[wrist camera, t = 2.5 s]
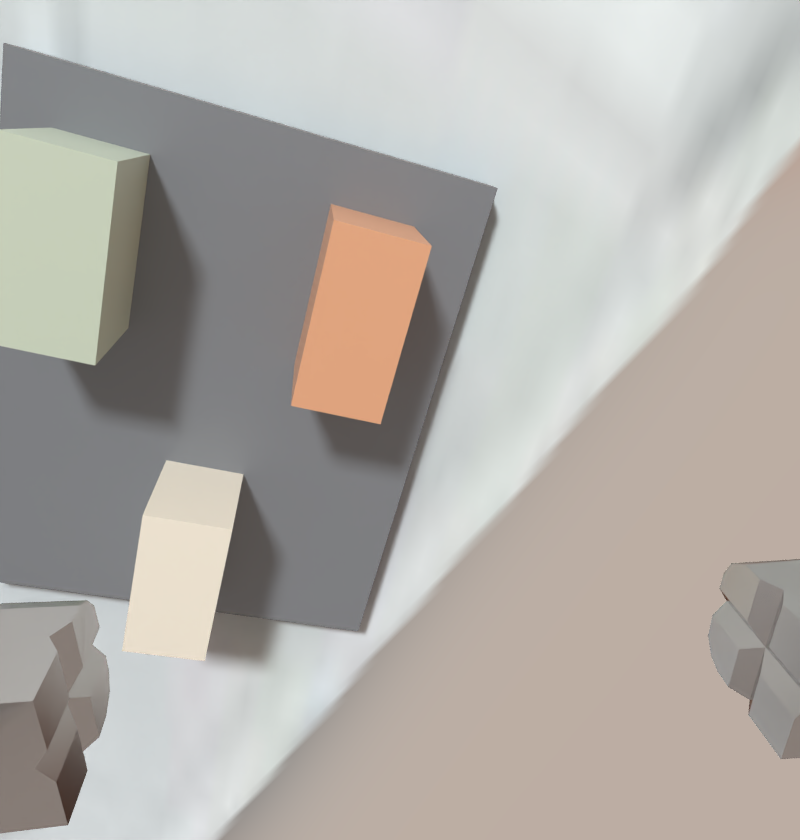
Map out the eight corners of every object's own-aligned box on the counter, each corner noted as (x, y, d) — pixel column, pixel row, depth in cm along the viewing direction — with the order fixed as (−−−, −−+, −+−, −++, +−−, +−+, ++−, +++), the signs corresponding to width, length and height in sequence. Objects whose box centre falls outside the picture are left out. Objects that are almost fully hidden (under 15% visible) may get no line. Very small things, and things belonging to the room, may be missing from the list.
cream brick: (218, 593, 29) (204, 660, 26) (146, 583, 28) (122, 651, 25) (243, 474, 27) (232, 529, 23) (166, 460, 26) (142, 514, 23)
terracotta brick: (371, 381, 26) (380, 424, 22) (294, 364, 25) (290, 405, 22) (413, 226, 24) (431, 246, 20) (330, 203, 23) (333, 219, 19)
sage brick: (128, 328, 24) (95, 365, 20) (38, 308, 23) (-13, 343, 20) (150, 154, 22) (117, 161, 18) (51, 127, 21) (-3, 129, 18)
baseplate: (356, 613, 32) (358, 631, 31) (-9, 561, 29) (-22, 579, 27) (489, 185, 25) (497, 188, 24) (19, 46, 21) (3, 42, 20)
